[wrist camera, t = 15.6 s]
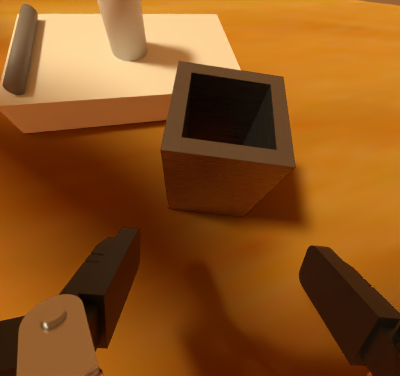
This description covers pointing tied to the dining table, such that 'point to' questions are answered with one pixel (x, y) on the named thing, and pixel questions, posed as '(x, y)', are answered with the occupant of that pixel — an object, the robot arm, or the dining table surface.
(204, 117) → the hollow square tube
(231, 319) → the dining table surface
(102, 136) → the dining table surface
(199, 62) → the peg stand
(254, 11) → the dining table surface
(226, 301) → the dining table surface
